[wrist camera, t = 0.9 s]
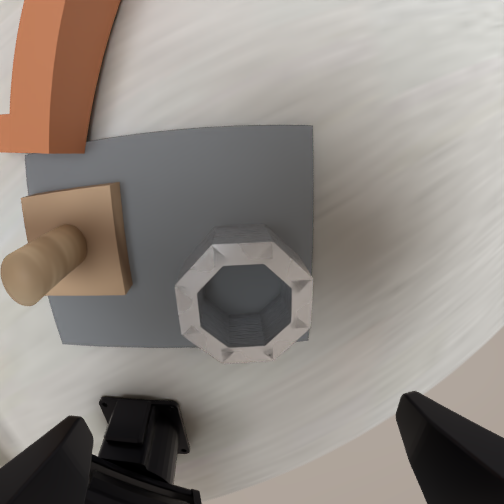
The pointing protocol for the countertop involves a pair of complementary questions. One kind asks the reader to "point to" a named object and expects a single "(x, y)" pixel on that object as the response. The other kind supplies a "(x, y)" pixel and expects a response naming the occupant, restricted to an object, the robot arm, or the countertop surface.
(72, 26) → the crank
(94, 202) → the tan stamp
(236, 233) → the collar
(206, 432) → the countertop surface
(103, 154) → the mat
